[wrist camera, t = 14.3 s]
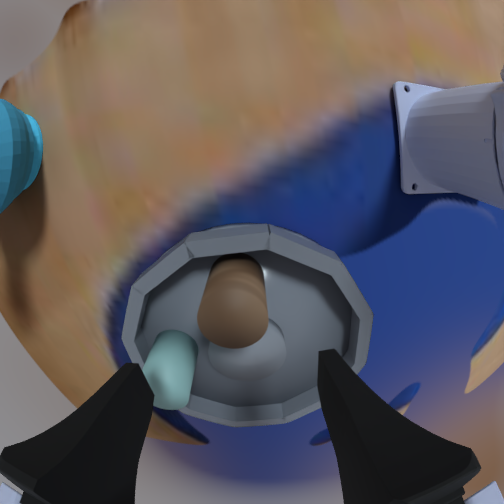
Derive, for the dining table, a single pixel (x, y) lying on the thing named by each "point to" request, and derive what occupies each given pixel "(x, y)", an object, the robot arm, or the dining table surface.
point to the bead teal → (171, 368)
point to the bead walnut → (234, 302)
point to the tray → (279, 327)
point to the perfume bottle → (17, 152)
